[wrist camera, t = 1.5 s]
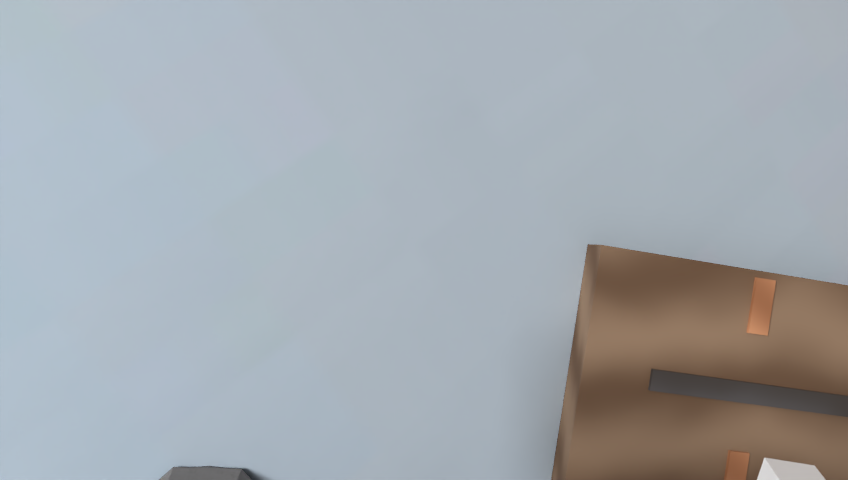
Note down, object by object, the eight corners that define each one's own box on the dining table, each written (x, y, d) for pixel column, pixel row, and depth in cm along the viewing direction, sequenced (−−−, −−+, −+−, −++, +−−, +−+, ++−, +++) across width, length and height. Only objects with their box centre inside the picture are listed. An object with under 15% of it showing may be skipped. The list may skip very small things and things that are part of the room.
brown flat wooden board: (1020, 533, 42) (1057, 550, 40) (551, 481, 38) (564, 496, 36) (1052, 320, 42) (1090, 325, 40) (587, 244, 38) (603, 245, 36)
